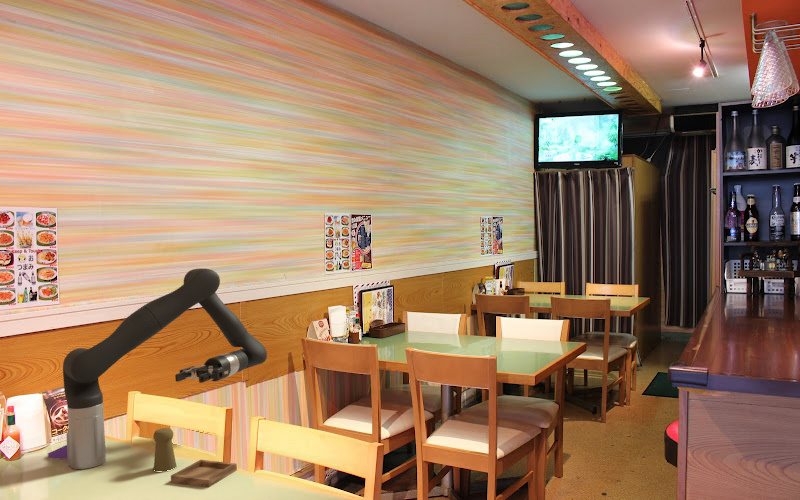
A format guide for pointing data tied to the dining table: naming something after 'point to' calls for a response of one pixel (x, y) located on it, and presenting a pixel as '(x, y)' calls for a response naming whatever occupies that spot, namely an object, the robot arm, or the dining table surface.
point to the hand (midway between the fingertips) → (188, 378)
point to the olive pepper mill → (164, 450)
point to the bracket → (59, 453)
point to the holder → (204, 473)
